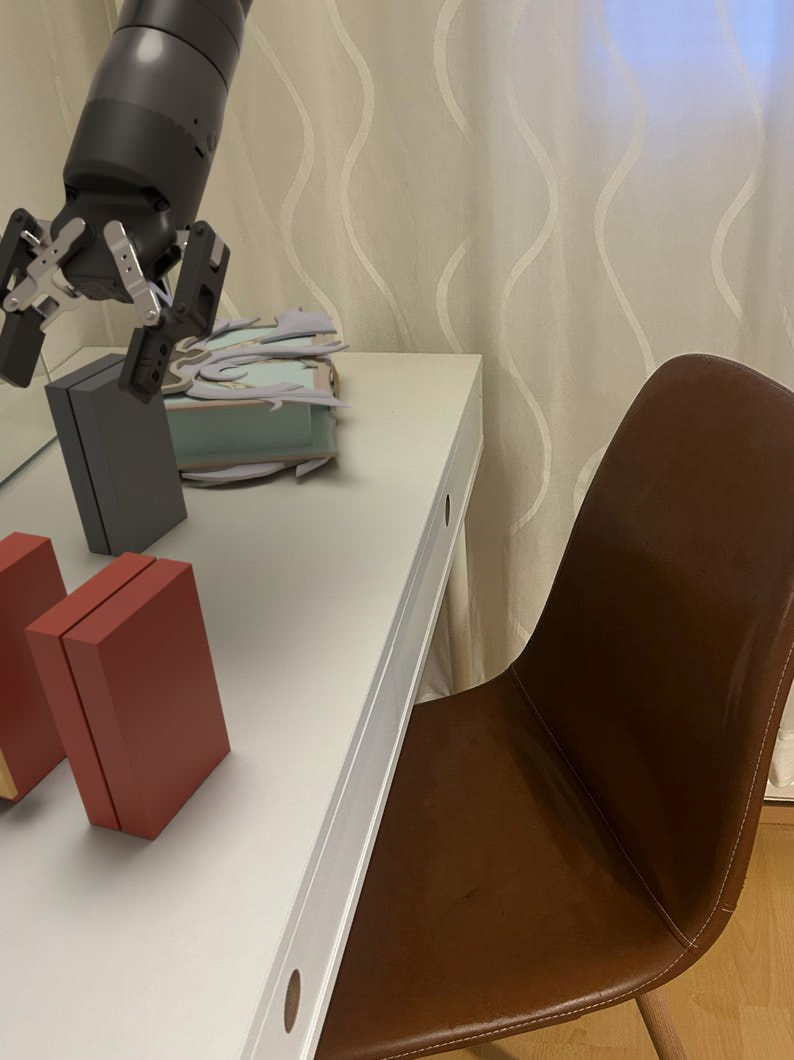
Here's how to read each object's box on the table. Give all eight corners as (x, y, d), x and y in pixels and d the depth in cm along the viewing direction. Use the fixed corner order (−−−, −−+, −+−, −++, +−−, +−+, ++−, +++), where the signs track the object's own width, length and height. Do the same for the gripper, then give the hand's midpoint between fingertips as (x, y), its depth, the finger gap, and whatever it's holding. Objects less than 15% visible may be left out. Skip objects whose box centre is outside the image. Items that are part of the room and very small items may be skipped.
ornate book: (153, 396, 111) (112, 503, 86) (135, 311, 106) (86, 398, 81) (349, 383, 114) (366, 482, 89) (342, 298, 109) (356, 379, 84)
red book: (-22, 796, 56) (-103, 605, 48) (72, 710, 62) (13, 530, 55) (15, 806, 55) (-61, 614, 48) (106, 718, 61) (51, 537, 54)
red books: (89, 823, 54) (23, 628, 46) (172, 735, 60) (125, 551, 53) (153, 841, 53) (96, 644, 45) (231, 748, 59) (192, 562, 52)
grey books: (89, 551, 80) (43, 385, 72) (147, 509, 86) (110, 352, 78) (132, 559, 78) (90, 391, 70) (188, 515, 85) (155, 357, 77)
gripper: (8, 90, 56) (-79, 346, 54) (221, 94, 52) (137, 372, 50) (89, 175, 63) (15, 405, 61) (282, 185, 59) (211, 431, 57)
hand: (70, 390), depth 55 cm, fingers open, 8 cm apart
